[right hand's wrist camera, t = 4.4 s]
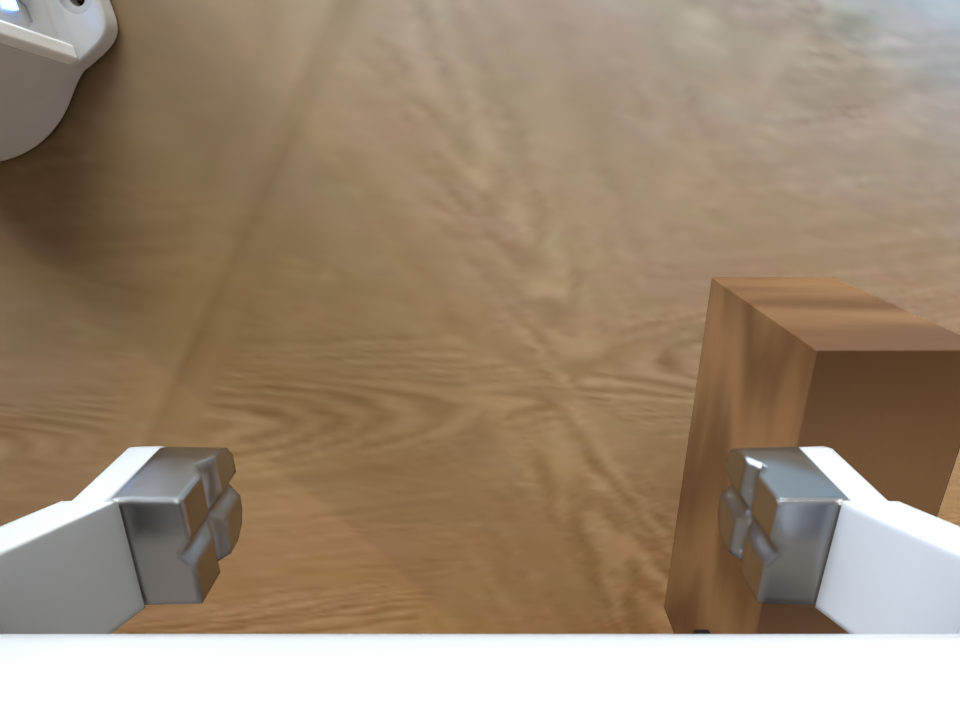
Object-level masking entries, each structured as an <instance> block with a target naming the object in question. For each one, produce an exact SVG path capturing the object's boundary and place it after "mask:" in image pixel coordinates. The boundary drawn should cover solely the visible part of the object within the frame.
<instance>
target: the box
mask: <svg viewBox="0 0 960 720" xmlns="http://www.w3.org/2000/svg"><path fill="white" fill-rule="evenodd" d="M811 446H825V447H829V448H832V449H833V450H834V451H835V452H836V453H837V454H838V455H840V456H841V457H842V458H843V459H844V460H845V461H846V462H847V463H848V464H849V465H850V466H851V467H852V468H853V469H854V470H856V471H857V472H858V473H859V474H860V475H861V476H862V477H863V478H864V479H865V480H866V481H867V482H868V483H869V484H871V485H872V486H873V487H874V488H875V489H876V490H877V491H878V492H879V493H880V494H881V495H882V496H883V497H884V498H885V499H887V500H888V501H899V502H902V503H904V504H907V505H909V506H911V507H914V508H916V509H919V510H921V511H923V512H926V513H928V514H931V515H933V516H935V517H937V515H938V512H939V509H940V506H941V503H942V500H943V497H944V494H945V491H946V488H947V485H948V482H949V479H950V476H951V473H952V470H953V467H954V464H955V461H956V458H957V455H958V452H959V449H960V335H958V334H956V333H954V332H952V331H950V330H948V329H945V328H943V327H941V326H939V325H937V324H934V323H932V322H930V321H928V320H926V319H923V318H921V317H919V316H917V315H915V314H913V313H910V312H908V311H906V310H904V309H902V308H899V307H897V306H895V305H893V304H891V303H888V302H886V301H884V300H882V299H880V298H878V297H875V296H873V295H871V294H869V293H867V292H864V291H862V290H860V289H858V288H856V287H853V286H851V285H849V284H847V283H845V282H843V281H840V280H838V279H836V278H834V277H712V281H711V288H710V295H709V302H708V308H707V315H706V322H705V329H704V336H703V343H702V350H701V357H700V364H699V371H698V378H697V384H696V391H695V398H694V405H693V412H692V419H691V426H690V433H689V440H688V447H687V454H686V460H685V467H684V474H683V481H682V488H681V495H680V502H679V509H678V516H677V523H676V530H675V536H674V543H673V550H672V557H671V564H670V571H669V578H668V585H667V592H666V599H665V606H664V608H665V611H666V613H667V616H668V619H669V621H670V624H671V627H672V629H673V632H674V634H693V630H694V629H708V630H709V632H710V634H849V633H848V632H847V631H845V630H844V629H843V628H842V627H840V626H839V625H838V624H836V623H835V622H834V621H832V620H831V619H830V618H828V617H827V616H826V615H824V614H823V613H822V612H820V611H819V610H818V609H816V608H815V605H800V604H763V603H757V601H756V599H755V598H754V596H753V594H752V592H751V591H750V589H749V587H748V586H747V584H746V582H745V580H744V579H743V577H742V575H741V573H740V569H741V563H742V561H741V560H739V559H738V558H736V557H735V556H733V555H731V554H730V553H729V552H728V550H727V549H726V547H725V545H724V543H723V541H722V538H721V534H720V531H719V523H718V506H719V499H720V495H721V494H722V493H723V492H724V491H725V490H726V489H727V488H728V487H729V486H730V485H731V482H730V481H729V479H728V477H727V476H726V474H725V473H724V469H725V463H726V458H727V456H728V454H729V452H730V450H731V449H736V448H768V447H811Z"/></svg>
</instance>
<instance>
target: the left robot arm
mask: <svg viewBox="0 0 960 720" xmlns="http://www.w3.org/2000/svg"><path fill="white" fill-rule="evenodd" d="M693 634H710V632H709V630H708V629H694V630H693Z"/></svg>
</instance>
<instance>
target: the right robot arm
mask: <svg viewBox="0 0 960 720" xmlns="http://www.w3.org/2000/svg"><path fill="white" fill-rule="evenodd" d="M117 33H118V24H117V20H116V16H115V13H114V10H113V8H112V5H111V2H110V0H85V2H84V4H83V5H81V6H80V5H79V4H78V2H77V0H0V161H4V160H8V159H11V158H14V157H17V156H19V155H22V154H24V153H26V152H28V151H29V150H31V149H33V148H34V147H36V146H37V145H38V144H40V143H41V142H42V141H43V140H44V139H46V138H47V137H48V136H49V135H50V134H51V132H52V131H53V130H54V129H55V128H56V126H57V125H58V124H59V122H60V121H61V119H62V117H63V116H64V114H65V112H66V110H67V108H68V106H69V103H70V101H71V98H72V96H73V93H74V91H75V88H76V85H77V83H78V81H79V79H80V77H81V76H82V74H83V72H84V71H85V70H86V69H87V68H89V67H90V66H91V65H92V64H94V63H95V62H96V61H97V60H98V59H99V58H101V57H102V56H103V55H104V54H105V53H106V52H107V51H108V50H109V49H110V47H111V46H112V45H113V43H114V42H115V40H116V37H117ZM235 473H236V469H235V464H234V460H233V455H232V453H231V452H230V451H229V450H228V449H227V448H207V447H164V446H148V447H132V448H128V449H127V450H126V451H125V452H124V453H123V454H122V455H121V456H120V457H119V458H117V459H116V460H115V461H114V462H113V463H112V464H111V465H110V466H109V467H108V468H107V469H106V470H105V471H104V472H102V473H101V474H100V475H99V476H98V477H97V478H96V479H95V480H94V481H93V482H92V483H91V484H90V485H89V486H87V487H86V488H85V489H84V490H83V491H82V492H81V493H80V494H79V495H78V496H77V497H76V498H75V499H74V500H72V501H61V502H58V503H56V504H53V505H51V506H49V507H46V508H44V509H41V510H39V511H37V512H34V513H32V514H29V515H27V516H24V517H22V518H20V519H17V520H15V521H12V522H10V523H8V524H5V525H3V526H0V720H960V526H957V525H955V524H952V523H950V522H947V521H945V520H943V519H940V518H938V517H935V516H933V515H931V514H928V513H926V512H923V511H921V510H919V509H916V508H914V507H911V506H909V505H907V504H904V503H902V502H899V501H888V500H887V499H885V498H884V497H883V496H882V495H881V494H880V493H879V492H878V491H877V490H876V489H875V488H874V487H873V486H872V485H871V484H869V483H868V482H867V481H866V480H865V479H864V478H863V477H862V476H861V475H860V474H859V473H858V472H857V471H856V470H854V469H853V468H852V467H851V466H850V465H849V464H848V463H847V462H846V461H845V460H844V459H843V458H842V457H841V456H840V455H838V454H837V453H836V452H835V451H834V450H833V449H832V448H829V447H825V446H811V447H768V448H736V449H731V450H730V452H729V454H728V456H727V458H726V463H725V469H724V473H725V474H726V476H727V477H728V479H729V481H730V482H731V485H730V486H729V487H728V488H727V489H726V490H725V491H724V492H723V493H722V494H721V495H720V499H719V506H718V523H719V531H720V534H721V538H722V541H723V543H724V545H725V547H726V549H727V550H728V552H729V553H730V554H731V555H733V556H735V557H736V558H738V559H739V560H741V561H742V563H741V569H740V573H741V575H742V577H743V579H744V580H745V582H746V584H747V586H748V587H749V589H750V591H751V592H752V594H753V596H754V598H755V599H756V601H757V603H763V604H800V605H815V608H816V609H818V610H819V611H820V612H822V613H823V614H824V615H826V616H827V617H828V618H830V619H831V620H832V621H834V622H835V623H836V624H838V625H839V626H840V627H842V628H843V629H844V630H845V631H847V632H848V633H849V634H111V633H112V632H113V631H115V630H116V629H117V628H119V627H120V626H121V625H123V624H124V623H125V622H127V621H128V620H129V619H131V618H132V617H133V616H135V615H136V614H137V613H139V612H140V611H141V610H143V609H144V608H145V605H160V604H195V603H203V601H204V599H205V598H206V596H207V594H208V593H209V591H210V589H211V587H212V586H213V584H214V582H215V580H216V579H217V577H218V575H219V573H220V569H219V563H218V561H219V560H221V559H222V558H224V557H225V556H227V555H229V554H230V553H231V552H232V550H233V549H234V547H235V545H236V543H237V541H238V538H239V534H240V529H241V525H242V505H241V498H240V495H239V494H238V493H237V492H236V491H235V490H234V489H233V488H232V487H231V486H230V485H229V482H230V481H231V479H232V477H233V476H234V474H235Z"/></svg>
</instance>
